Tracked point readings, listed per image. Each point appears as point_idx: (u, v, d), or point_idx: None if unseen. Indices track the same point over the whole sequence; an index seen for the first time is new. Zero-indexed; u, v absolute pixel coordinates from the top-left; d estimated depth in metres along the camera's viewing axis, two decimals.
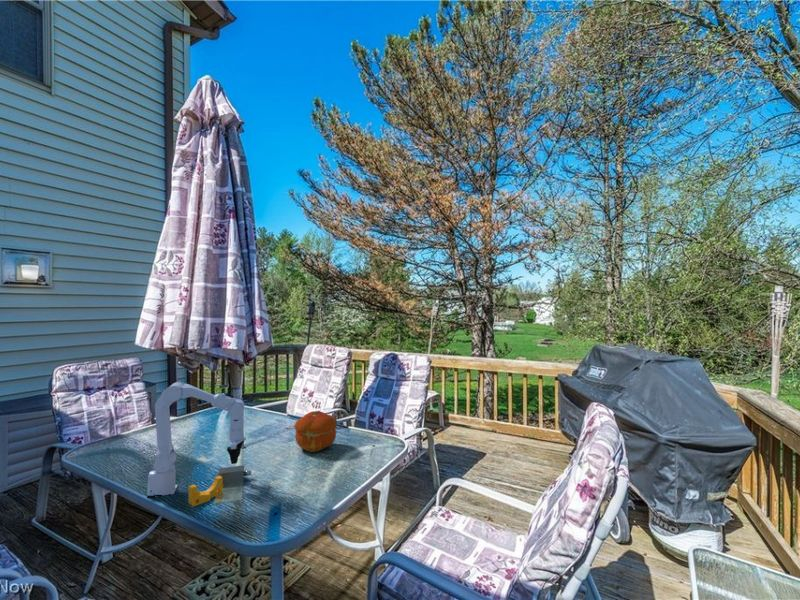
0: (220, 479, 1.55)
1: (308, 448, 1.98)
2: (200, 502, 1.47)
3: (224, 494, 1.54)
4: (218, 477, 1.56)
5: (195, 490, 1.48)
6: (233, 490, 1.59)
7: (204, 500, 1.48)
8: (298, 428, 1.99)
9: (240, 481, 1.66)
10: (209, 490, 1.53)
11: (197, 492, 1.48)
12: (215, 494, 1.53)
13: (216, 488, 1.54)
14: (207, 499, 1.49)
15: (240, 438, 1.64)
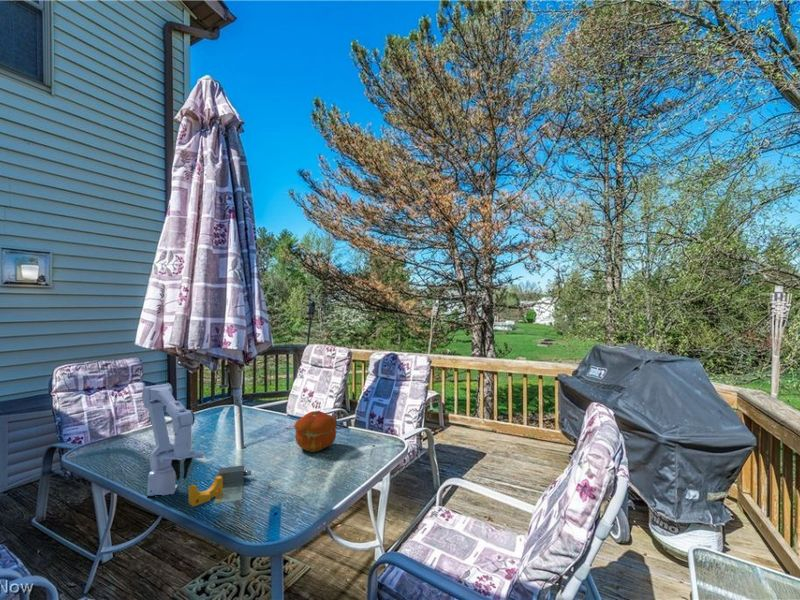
0: (220, 479, 1.55)
1: (308, 448, 1.98)
2: (200, 502, 1.47)
3: (224, 494, 1.54)
4: (218, 477, 1.56)
5: (195, 490, 1.48)
6: (233, 490, 1.59)
7: (204, 500, 1.48)
8: (298, 428, 1.99)
9: (240, 481, 1.66)
10: (209, 490, 1.53)
11: (197, 492, 1.48)
12: (215, 494, 1.53)
13: (216, 488, 1.54)
14: (207, 499, 1.49)
15: (175, 455, 1.46)
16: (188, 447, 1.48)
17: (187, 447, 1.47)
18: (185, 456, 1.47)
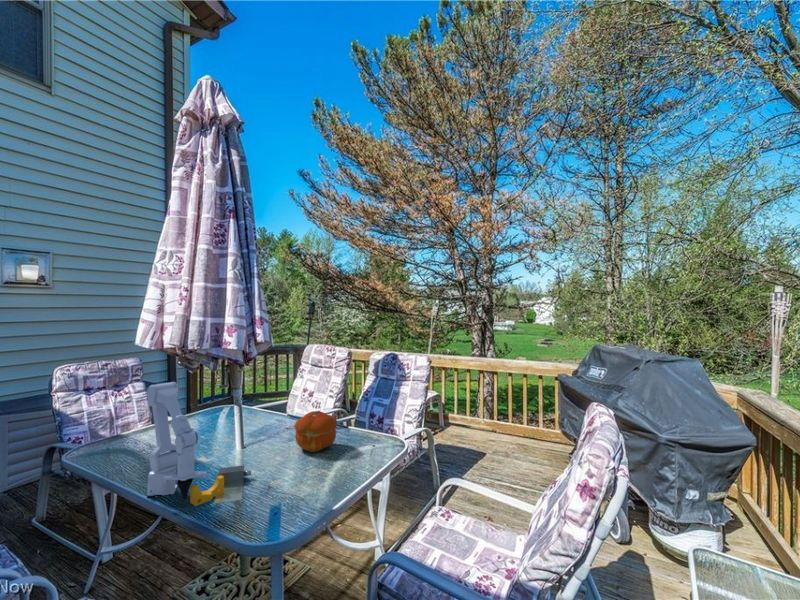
0: (222, 479, 1.55)
1: (308, 448, 1.98)
2: (202, 502, 1.48)
3: (224, 494, 1.54)
4: (220, 477, 1.56)
5: (197, 490, 1.48)
6: (233, 490, 1.59)
7: (206, 500, 1.49)
8: (298, 428, 1.99)
9: (240, 481, 1.66)
10: (211, 490, 1.53)
11: (199, 492, 1.48)
12: (217, 494, 1.54)
13: (218, 487, 1.54)
14: (209, 499, 1.50)
15: (179, 475, 1.46)
16: (191, 467, 1.48)
17: (190, 467, 1.48)
18: (188, 476, 1.47)
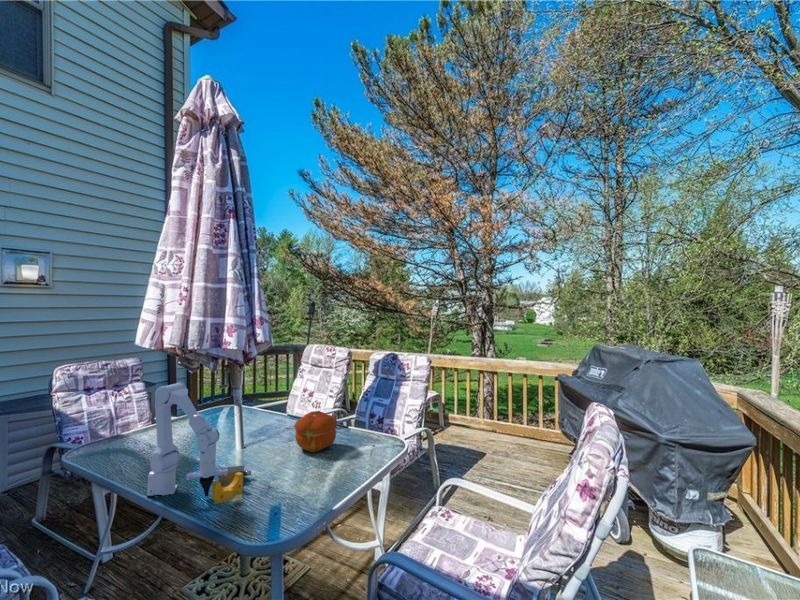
0: (241, 475, 1.59)
1: (308, 448, 1.98)
2: (224, 498, 1.51)
3: None
4: (238, 473, 1.60)
5: (219, 486, 1.51)
6: None
7: (227, 496, 1.52)
8: (298, 428, 1.99)
9: None
10: (231, 486, 1.56)
11: (221, 488, 1.52)
12: (236, 490, 1.57)
13: (237, 483, 1.58)
14: (230, 494, 1.53)
15: (201, 473, 1.49)
16: (213, 465, 1.51)
17: (212, 465, 1.50)
18: (210, 474, 1.50)
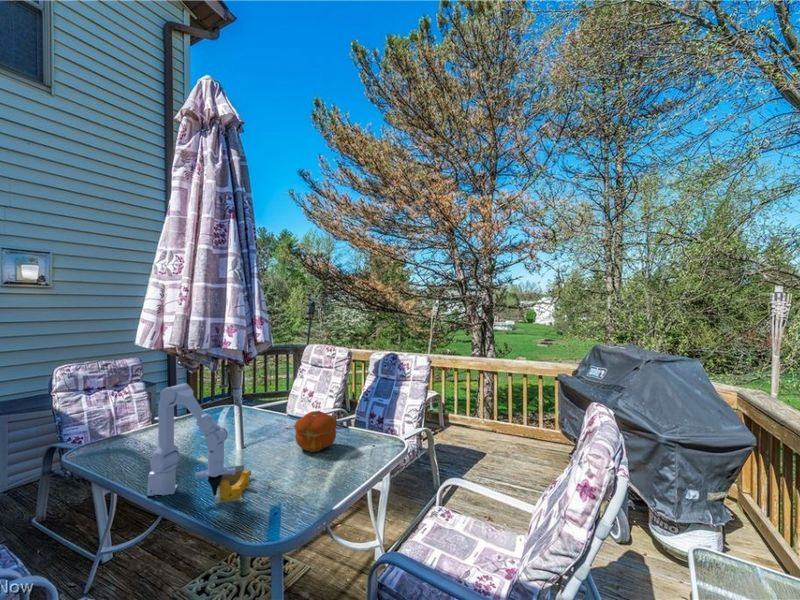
0: (247, 473, 1.61)
1: (308, 448, 1.98)
2: (232, 496, 1.52)
3: None
4: (245, 471, 1.61)
5: (227, 485, 1.52)
6: None
7: (236, 494, 1.54)
8: (298, 428, 1.99)
9: None
10: (238, 484, 1.58)
11: (229, 486, 1.53)
12: (243, 488, 1.59)
13: (244, 481, 1.59)
14: (238, 493, 1.55)
15: (209, 472, 1.50)
16: (221, 464, 1.52)
17: (220, 464, 1.51)
18: (219, 473, 1.51)
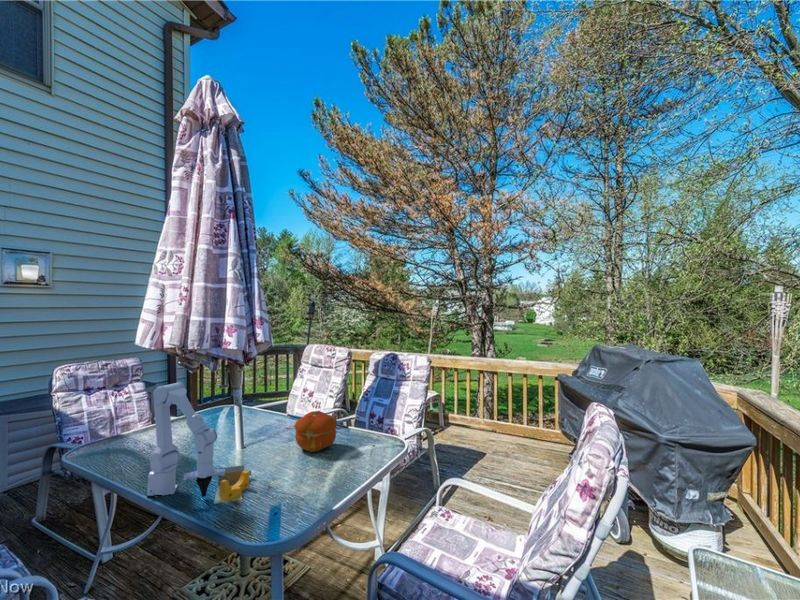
0: (247, 473, 1.61)
1: (308, 448, 1.98)
2: (232, 496, 1.52)
3: None
4: (245, 472, 1.61)
5: (227, 485, 1.52)
6: None
7: (236, 494, 1.54)
8: (298, 428, 1.99)
9: None
10: (238, 484, 1.58)
11: (229, 487, 1.53)
12: (243, 488, 1.59)
13: (244, 482, 1.59)
14: (238, 493, 1.55)
15: (198, 473, 1.49)
16: (210, 465, 1.50)
17: (209, 465, 1.50)
18: (208, 474, 1.49)
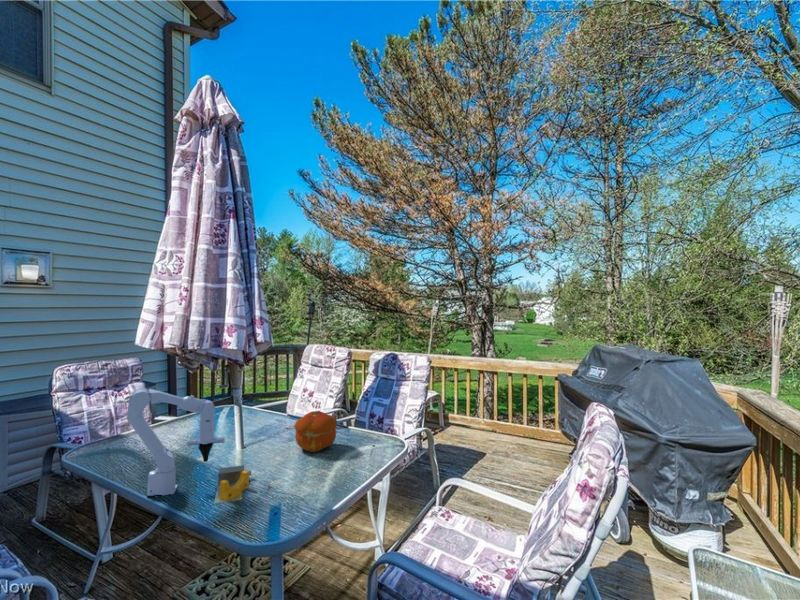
0: (247, 473, 1.61)
1: (308, 448, 1.98)
2: (232, 496, 1.52)
3: None
4: (244, 472, 1.61)
5: (227, 485, 1.52)
6: None
7: (235, 494, 1.54)
8: (298, 428, 1.99)
9: None
10: (237, 484, 1.58)
11: (228, 487, 1.53)
12: (243, 488, 1.59)
13: (244, 482, 1.59)
14: (238, 493, 1.55)
15: (200, 440, 1.63)
16: (211, 433, 1.65)
17: (210, 433, 1.64)
18: (209, 441, 1.63)
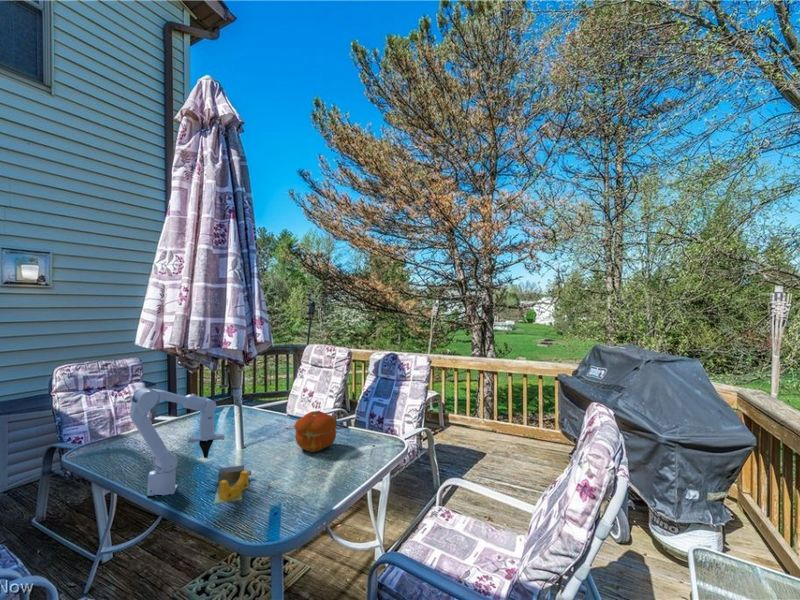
0: (247, 473, 1.61)
1: (308, 448, 1.98)
2: (232, 496, 1.52)
3: None
4: (244, 472, 1.61)
5: (227, 485, 1.52)
6: None
7: (235, 494, 1.54)
8: (298, 428, 1.99)
9: None
10: (237, 485, 1.58)
11: (228, 487, 1.53)
12: (242, 488, 1.59)
13: (243, 482, 1.59)
14: (237, 493, 1.55)
15: (201, 436, 1.67)
16: (211, 430, 1.69)
17: (211, 430, 1.68)
18: (209, 438, 1.67)
